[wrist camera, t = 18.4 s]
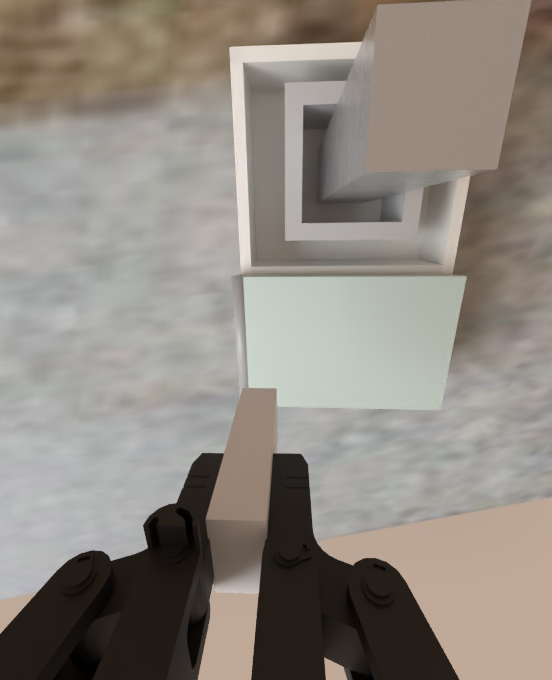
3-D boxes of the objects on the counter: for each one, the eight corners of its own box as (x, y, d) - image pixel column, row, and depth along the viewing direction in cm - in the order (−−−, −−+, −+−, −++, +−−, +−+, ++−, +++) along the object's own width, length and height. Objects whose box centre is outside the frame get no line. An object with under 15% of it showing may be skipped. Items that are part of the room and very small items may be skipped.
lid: (240, 399, 25) (238, 406, 24) (233, 274, 21) (230, 277, 20) (435, 403, 24) (441, 411, 23) (459, 274, 20) (467, 276, 19)
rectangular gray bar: (316, 203, 23) (365, 172, 8) (318, 150, 22) (377, 4, 7) (363, 202, 23) (497, 169, 8) (367, 149, 22) (532, -3, 7)
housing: (254, 371, 30) (245, 407, 24) (242, 84, 22) (225, 36, 16) (406, 372, 29) (435, 409, 23) (450, 77, 21) (507, 25, 16)
